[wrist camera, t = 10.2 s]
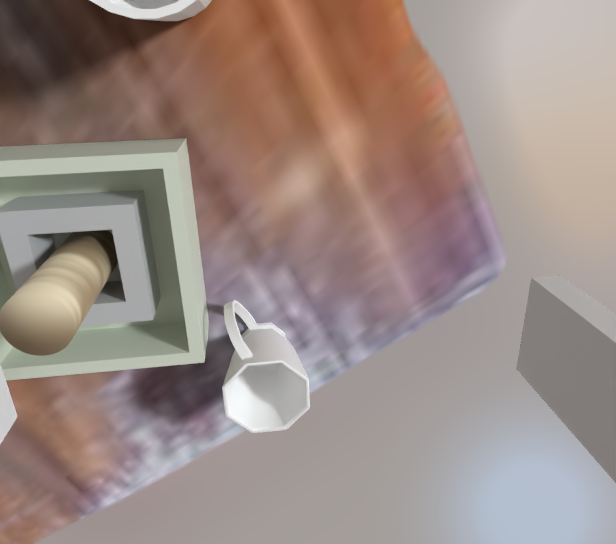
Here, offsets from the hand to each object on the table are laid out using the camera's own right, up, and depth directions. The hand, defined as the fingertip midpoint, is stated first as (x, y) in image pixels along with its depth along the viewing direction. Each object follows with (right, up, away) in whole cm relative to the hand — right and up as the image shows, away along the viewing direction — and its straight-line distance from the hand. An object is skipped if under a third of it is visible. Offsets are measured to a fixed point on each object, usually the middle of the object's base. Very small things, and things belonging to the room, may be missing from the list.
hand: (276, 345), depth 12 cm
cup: (-4, -3, +33) cm, 33 cm away
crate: (-16, +4, +28) cm, 32 cm away
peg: (-16, +4, +27) cm, 31 cm away
